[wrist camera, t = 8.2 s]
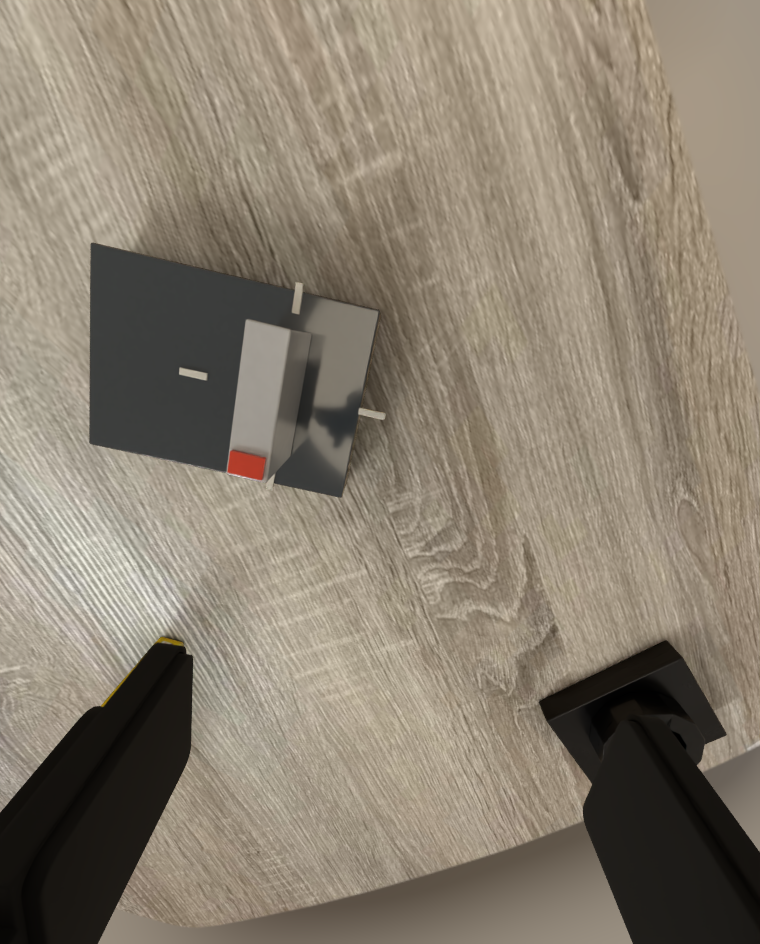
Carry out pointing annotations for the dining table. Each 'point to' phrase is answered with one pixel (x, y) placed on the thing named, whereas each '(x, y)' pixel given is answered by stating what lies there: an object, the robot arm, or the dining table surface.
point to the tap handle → (267, 399)
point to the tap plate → (217, 365)
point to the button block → (632, 706)
